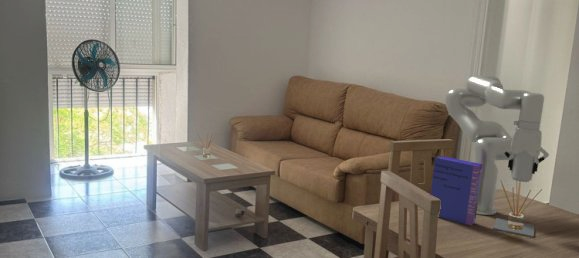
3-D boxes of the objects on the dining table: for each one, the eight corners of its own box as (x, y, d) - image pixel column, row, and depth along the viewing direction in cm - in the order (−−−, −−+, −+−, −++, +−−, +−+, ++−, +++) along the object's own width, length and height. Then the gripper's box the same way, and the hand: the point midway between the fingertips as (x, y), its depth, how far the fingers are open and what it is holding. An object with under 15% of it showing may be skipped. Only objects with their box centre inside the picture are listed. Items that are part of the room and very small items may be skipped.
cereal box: (475, 223, 202) (482, 163, 198) (470, 226, 198) (478, 165, 194) (433, 211, 213) (439, 155, 209) (428, 214, 209) (435, 156, 205)
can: (530, 179, 198) (534, 148, 196) (532, 183, 191) (537, 152, 189) (509, 176, 201) (513, 146, 199) (510, 180, 194) (515, 149, 192)
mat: (493, 229, 196) (493, 227, 196) (496, 219, 208) (496, 217, 208) (533, 237, 190) (533, 236, 190) (534, 226, 202) (534, 225, 202)
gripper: (503, 123, 193) (496, 169, 196) (554, 130, 185) (547, 177, 188) (504, 121, 199) (498, 165, 203) (554, 127, 192) (547, 173, 195)
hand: (522, 171), depth 195 cm, fingers closed on can, 7 cm apart
